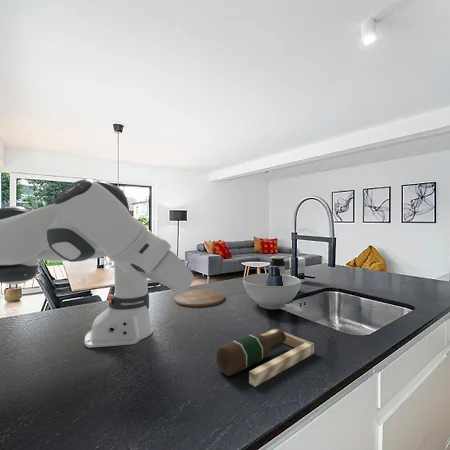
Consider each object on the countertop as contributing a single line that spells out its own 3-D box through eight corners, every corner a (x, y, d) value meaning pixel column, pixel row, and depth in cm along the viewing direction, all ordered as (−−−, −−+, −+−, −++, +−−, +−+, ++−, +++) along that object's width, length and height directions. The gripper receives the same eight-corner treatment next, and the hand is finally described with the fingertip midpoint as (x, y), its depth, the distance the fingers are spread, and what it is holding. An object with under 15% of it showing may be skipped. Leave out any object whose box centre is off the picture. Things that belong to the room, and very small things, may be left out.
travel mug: (286, 290, 157) (286, 257, 156) (271, 290, 157) (271, 257, 157) (283, 286, 165) (283, 255, 164) (269, 286, 165) (269, 255, 165)
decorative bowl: (257, 294, 150) (257, 271, 150) (308, 301, 136) (308, 276, 136) (232, 308, 127) (232, 281, 127) (290, 319, 113) (290, 289, 113)
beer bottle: (237, 361, 70) (295, 334, 86) (219, 339, 76) (277, 318, 91) (229, 383, 73) (287, 353, 88) (212, 361, 78) (270, 337, 94)
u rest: (255, 386, 69) (254, 374, 69) (217, 362, 81) (216, 352, 80) (313, 353, 85) (313, 343, 85) (275, 337, 97) (275, 328, 97)
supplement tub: (308, 281, 177) (308, 257, 177) (300, 283, 171) (300, 259, 170) (294, 278, 184) (294, 256, 184) (286, 281, 178) (286, 258, 177)
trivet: (233, 303, 136) (233, 299, 136) (183, 311, 125) (183, 307, 125) (212, 290, 158) (212, 287, 158) (168, 297, 147) (168, 293, 147)
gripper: (107, 255, 62) (149, 292, 69) (146, 269, 46) (196, 315, 53) (127, 234, 65) (166, 271, 71) (170, 241, 49) (215, 287, 56)
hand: (179, 290), depth 62 cm, fingers closed
